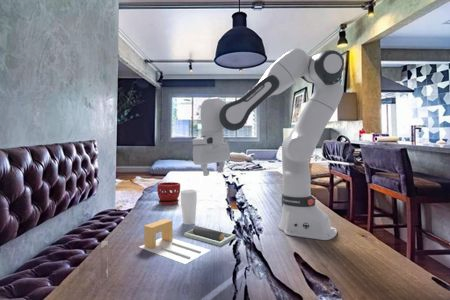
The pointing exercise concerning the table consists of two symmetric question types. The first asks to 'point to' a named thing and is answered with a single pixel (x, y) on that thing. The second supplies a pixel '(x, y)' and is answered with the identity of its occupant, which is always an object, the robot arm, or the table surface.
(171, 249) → the station
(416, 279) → the table surface
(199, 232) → the battery
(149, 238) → the wooden bridge piece
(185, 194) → the drinking glass
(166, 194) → the plant pot
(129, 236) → the table surface
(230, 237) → the green rectangular frame
